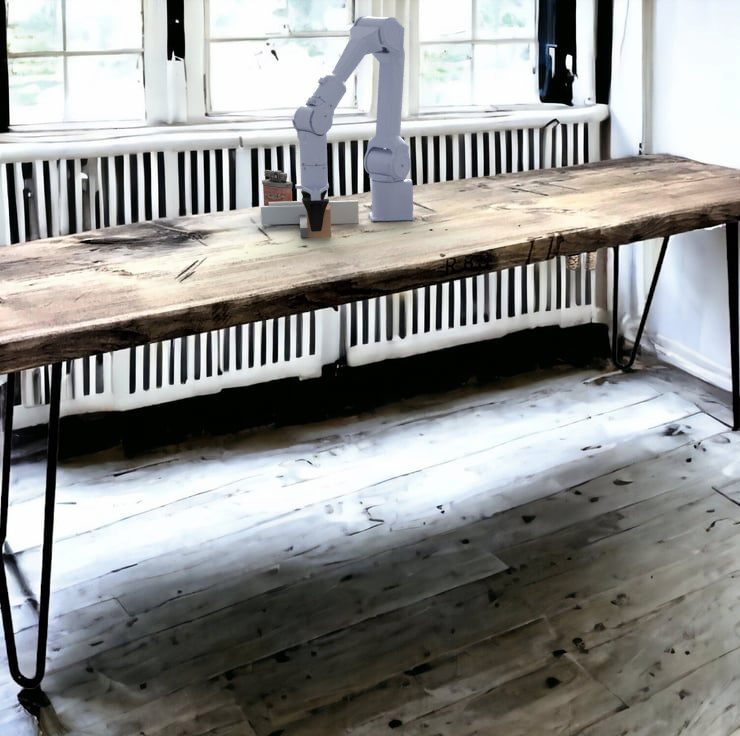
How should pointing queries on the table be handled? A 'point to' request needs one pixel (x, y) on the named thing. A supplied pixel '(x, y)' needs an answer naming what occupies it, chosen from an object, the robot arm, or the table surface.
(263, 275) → the table surface
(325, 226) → the block
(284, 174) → the lighter
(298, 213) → the sliding door
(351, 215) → the white thin slab
